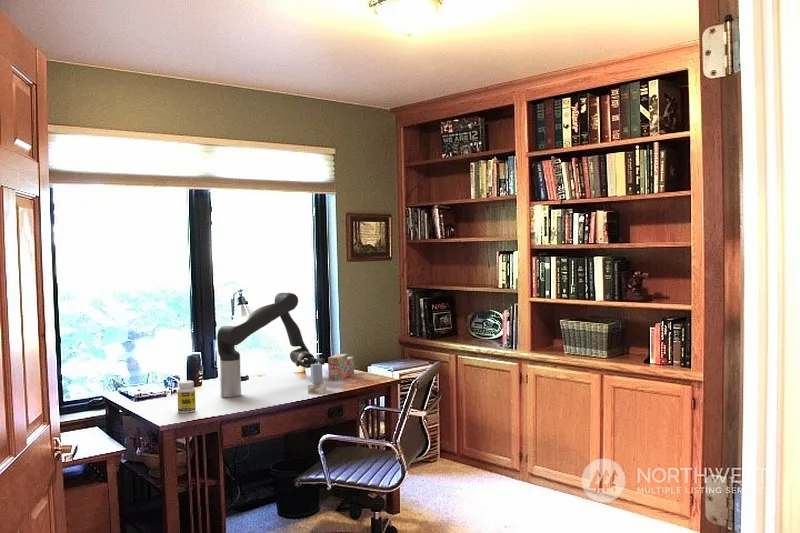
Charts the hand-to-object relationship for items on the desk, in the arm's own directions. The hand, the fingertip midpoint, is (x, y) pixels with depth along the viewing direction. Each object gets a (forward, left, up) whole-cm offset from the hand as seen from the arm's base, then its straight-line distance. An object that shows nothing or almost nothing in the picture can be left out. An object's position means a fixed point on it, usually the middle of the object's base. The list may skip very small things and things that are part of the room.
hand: (313, 364), depth 322 cm
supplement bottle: (-60, -22, -12) cm, 66 cm away
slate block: (0, -8, -8) cm, 11 cm away
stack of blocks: (+21, +24, -12) cm, 34 cm away
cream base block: (0, -8, -12) cm, 15 cm away
